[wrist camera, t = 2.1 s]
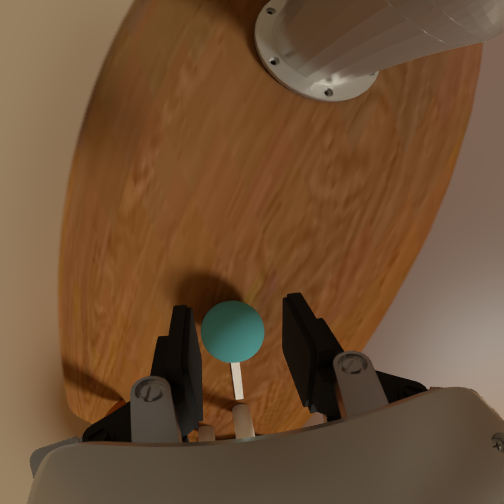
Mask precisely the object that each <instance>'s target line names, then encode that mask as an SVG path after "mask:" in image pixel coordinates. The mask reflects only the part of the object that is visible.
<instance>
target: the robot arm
mask: <svg viewBox="0 0 504 504" xmlns="http://www.w3.org/2000/svg"><path fill="white" fill-rule="evenodd" d="M268 13H270V14H268ZM503 32H504V0H270V1H269V2H268V3H267V4H266V5H265V6H264V7H263V9H262V10H261V12H260V13H259V15H258V18H257V20H256V23H255V28H254V43H255V47H256V50H257V54H258V56H259V58H260V60H261V61H262V63H263V65H264V66H265V68H266V69H267V70H268V72H269V73H270V74H271V75H272V76H273V77H274V78H275V79H276V80H277V81H278V82H279V83H280V84H282V85H283V86H285V87H286V88H288V89H289V90H291V91H292V92H294V93H296V94H299V95H301V96H303V97H305V98H309V99H312V100H316V101H323V102H339V101H344V100H348V99H351V98H354V97H356V96H359V95H360V94H362V93H363V92H365V91H366V90H367V89H368V88H369V87H370V86H371V85H372V84H373V83H374V81H375V80H376V78H377V76H378V73H379V71H380V70H383V69H386V68H389V67H392V66H394V65H398V64H401V63H404V62H407V61H410V60H413V59H417V58H420V57H424V56H427V55H431V54H435V53H438V52H442V51H446V50H450V49H454V48H459V47H463V46H466V45H471V44H476V43H481V42H484V41H488V40H491V39H493V38H496V37H498V36H499V35H500V34H502V33H503ZM272 61H273V62H275V65H272V64H271V63H270V62H272ZM324 91H325V92H326V93H327V96H326V95H325V93H324ZM282 349H283V353H284V356H285V359H286V361H287V364H288V367H289V370H290V372H291V375H292V378H293V380H294V383H295V386H296V388H297V391H298V394H299V396H300V399H301V402H302V404H303V406H304V407H308V408H309V411H310V413H314V412H319V413H322V414H323V419H324V423H323V424H319V425H314V426H310V427H305V428H301V429H296V430H291V431H285V432H280V433H274V434H268V435H262V436H255V437H247V438H239V439H229V440H218V441H205V442H190V439H189V436H188V434H189V433H190V432H191V431H193V430H194V429H199V427H198V421H203V400H202V359H201V353H200V348H199V343H198V338H197V332H196V327H195V322H194V316H193V310H192V308H188V307H187V305H177V306H174V307H173V312H172V318H171V324H170V330H169V336H159V337H158V339H157V344H156V348H155V353H154V358H153V363H152V369H151V374H150V376H148V377H144V378H142V379H140V380H138V381H137V382H136V383H134V385H133V386H132V388H131V392H130V401H129V402H128V403H126V404H125V405H123V406H121V407H120V408H118V409H117V410H115V411H114V412H112V413H111V414H109V415H107V416H106V417H104V418H103V419H101V420H99V421H98V422H96V423H94V424H93V425H91V426H90V427H89V428H87V429H86V431H85V432H84V434H83V437H81V438H78V437H77V436H75V437H72V438H69V439H67V440H63V441H61V442H58V443H55V444H51V445H48V446H46V447H42V448H39V449H37V450H35V451H34V452H33V453H32V455H31V457H30V466H31V470H32V474H33V478H34V480H33V483H32V487H31V491H30V494H29V498H28V502H27V504H504V420H503V419H502V418H501V417H500V416H499V414H498V413H497V412H496V411H495V410H494V409H493V408H492V407H491V406H490V405H489V404H488V403H487V402H486V401H485V400H484V399H483V398H482V397H481V396H480V395H479V394H478V393H477V392H476V391H474V390H472V389H468V388H464V387H448V388H447V387H446V388H441V387H430V389H429V390H427V389H426V387H425V386H424V385H422V384H421V383H419V382H416V381H412V380H409V379H405V378H401V377H397V376H394V375H390V374H386V373H383V372H380V371H376V370H375V369H374V367H373V365H372V362H371V360H370V359H369V358H368V357H367V356H366V355H365V354H362V353H360V352H356V351H346V352H344V350H343V349H342V347H341V346H340V344H339V343H338V341H337V339H336V338H335V336H334V335H333V333H332V332H331V330H330V328H329V327H328V325H327V324H326V322H325V321H324V319H323V318H318V319H316V317H315V315H314V314H313V312H312V310H311V309H310V307H309V306H308V304H307V302H306V301H305V299H304V297H303V296H302V294H301V293H300V292H299V293H291V294H287V297H286V298H283V326H282Z"/></svg>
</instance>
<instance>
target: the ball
mask: <svg viewBox="0 0 504 504" xmlns="http://www.w3.org/2000/svg"><path fill="white" fill-rule="evenodd" d="M201 338H202V341H203V344H204V346H205V348H206V349H207V351H208V352H209V353H210V354H211V355H212V356H214V357H215V358H217V359H219V360H221V361H224V362H229V363H237V362H242V361H245V360H247V359H249V358H250V357H252V356H253V355H254V354H255V353H256V352H257V351H258V350H259V348H260V346H261V345H262V342H263V338H264V325H263V322H262V320H261V317H260V316H259V314H258V313H257V312H256V310H255V309H253V308H252V307H251V306H249V305H248V304H246V303H243V302H240V301H225V302H221V303H219V304H217V305H215V306H214V307H212V308H211V309H210V310H209V311H208V312H207V314H206V315H205V317H204V319H203V322H202V325H201Z"/></svg>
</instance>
